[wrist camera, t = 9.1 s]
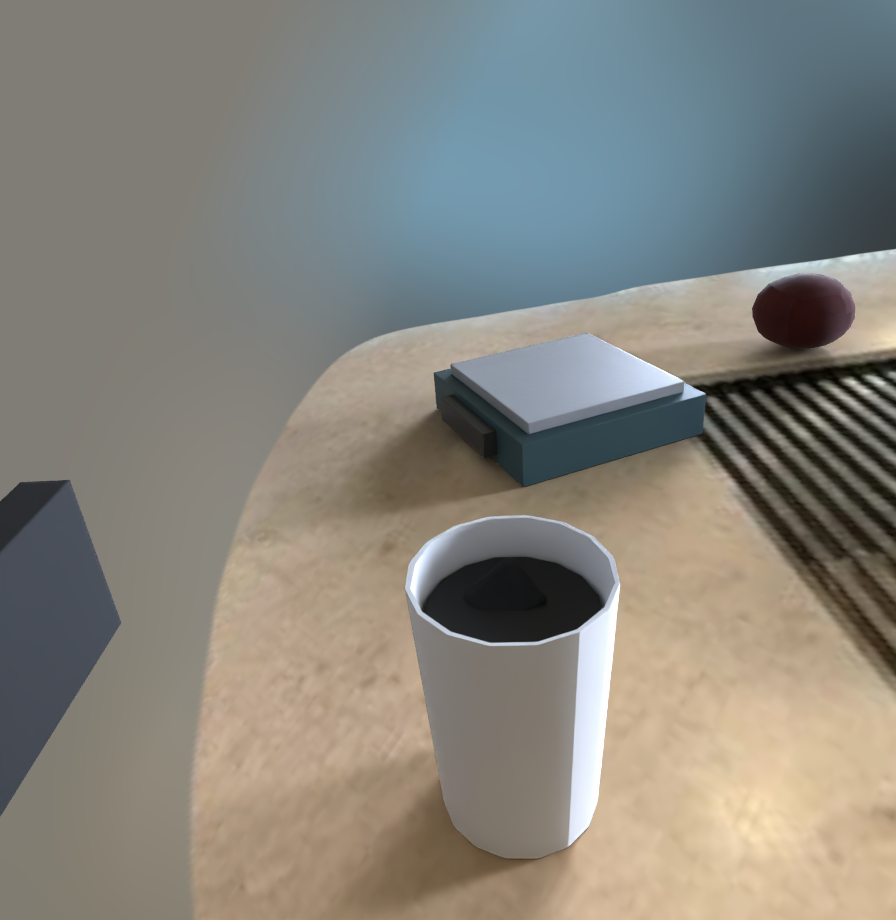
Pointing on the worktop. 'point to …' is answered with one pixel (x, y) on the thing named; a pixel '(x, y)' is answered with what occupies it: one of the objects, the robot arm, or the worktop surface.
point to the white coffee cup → (516, 676)
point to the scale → (565, 406)
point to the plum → (803, 311)
